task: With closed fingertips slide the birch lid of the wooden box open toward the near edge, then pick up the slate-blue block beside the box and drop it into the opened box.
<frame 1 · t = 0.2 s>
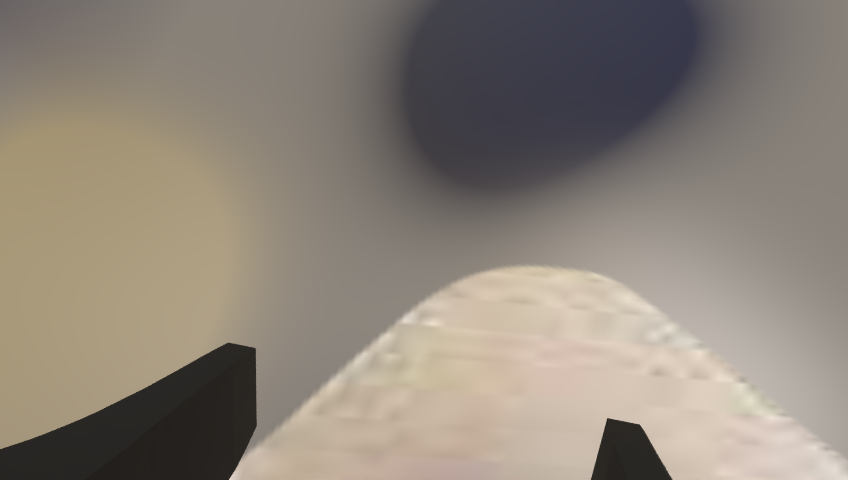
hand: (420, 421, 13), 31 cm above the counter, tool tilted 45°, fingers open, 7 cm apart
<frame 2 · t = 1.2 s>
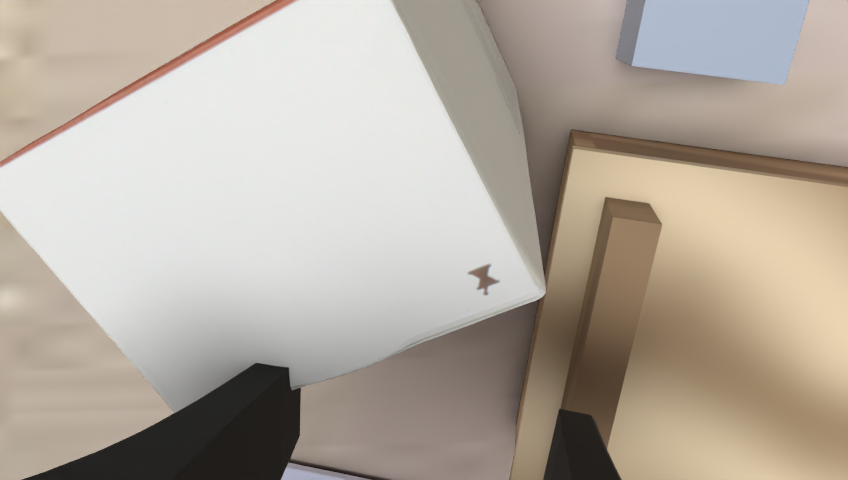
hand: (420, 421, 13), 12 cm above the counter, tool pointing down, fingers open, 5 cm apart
block: (692, 1, 21), on the counter
wooden box: (678, 311, 24), on the counter
lid: (717, 392, 19), point 6 cm above the counter, slide at 0.0 cm
small box: (375, 57, 23), on the counter, touching gripper
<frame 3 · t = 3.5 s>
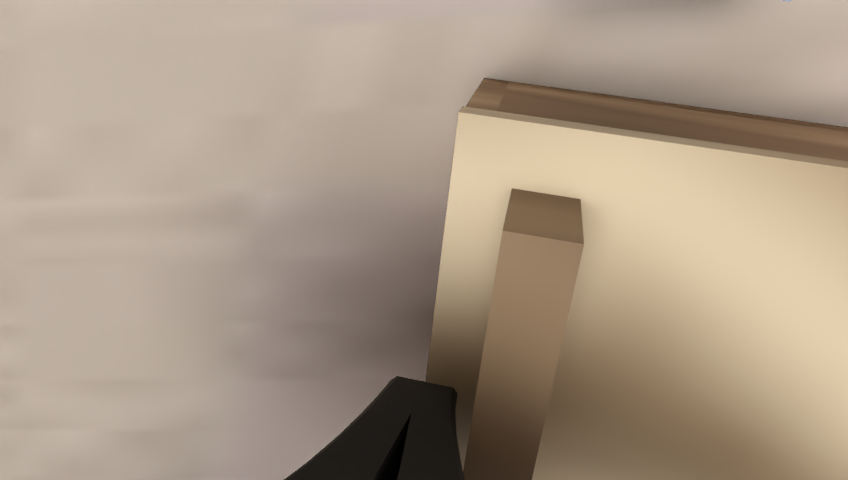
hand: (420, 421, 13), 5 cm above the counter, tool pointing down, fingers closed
wooden box: (638, 330, 17), on the counter
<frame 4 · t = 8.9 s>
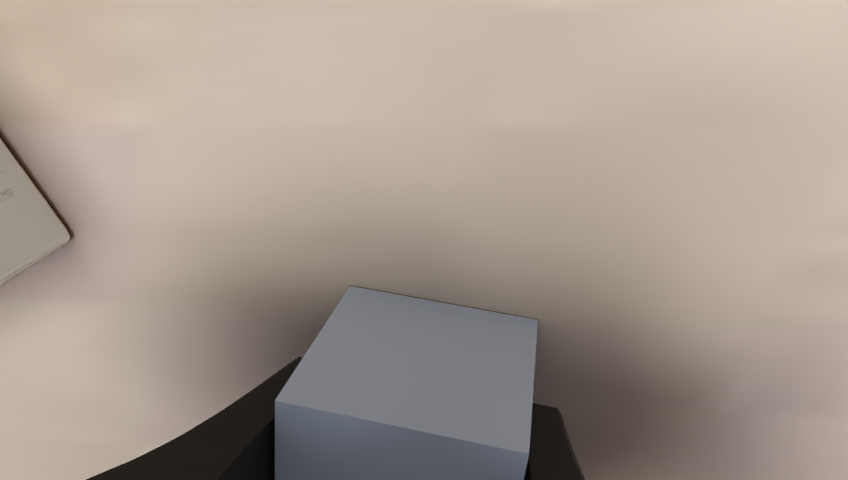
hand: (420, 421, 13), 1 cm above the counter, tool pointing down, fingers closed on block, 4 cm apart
block: (432, 380, 14), on the counter, touching gripper
when the fingers open (5 cm above the counter, at t = 11.6 s): block drops 3 cm, resting on wooden box.
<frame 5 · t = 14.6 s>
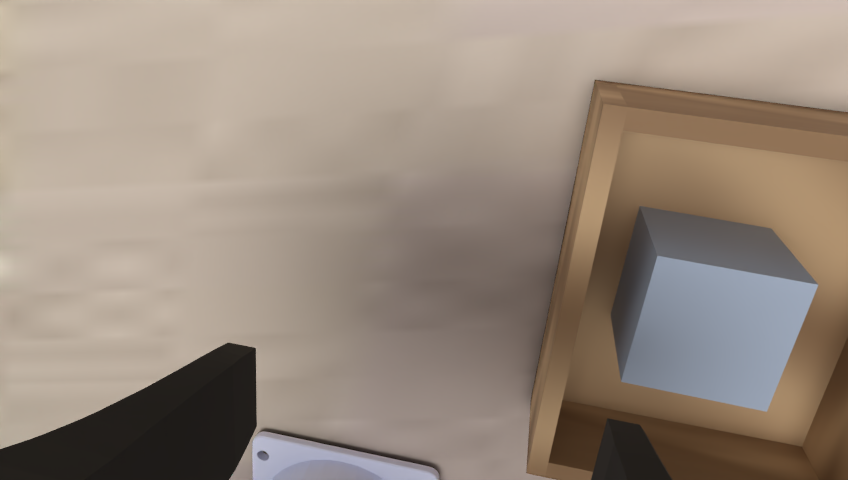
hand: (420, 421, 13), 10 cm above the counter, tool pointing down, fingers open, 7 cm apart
block: (686, 273, 21), resting on wooden box
wooden box: (710, 281, 22), on the counter
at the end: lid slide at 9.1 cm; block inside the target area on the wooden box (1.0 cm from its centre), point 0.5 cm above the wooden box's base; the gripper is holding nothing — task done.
